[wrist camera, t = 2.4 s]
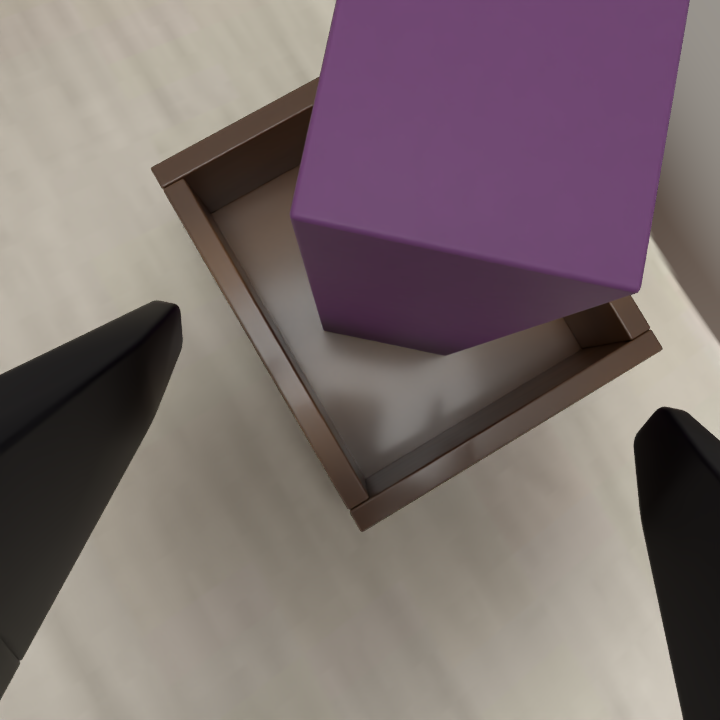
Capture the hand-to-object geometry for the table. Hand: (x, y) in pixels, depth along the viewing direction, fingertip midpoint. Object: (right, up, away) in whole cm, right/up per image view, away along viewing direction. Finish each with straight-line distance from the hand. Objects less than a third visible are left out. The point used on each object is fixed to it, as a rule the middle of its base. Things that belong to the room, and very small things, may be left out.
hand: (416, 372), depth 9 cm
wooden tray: (0, +3, +11) cm, 12 cm away
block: (0, +3, +11) cm, 11 cm away
